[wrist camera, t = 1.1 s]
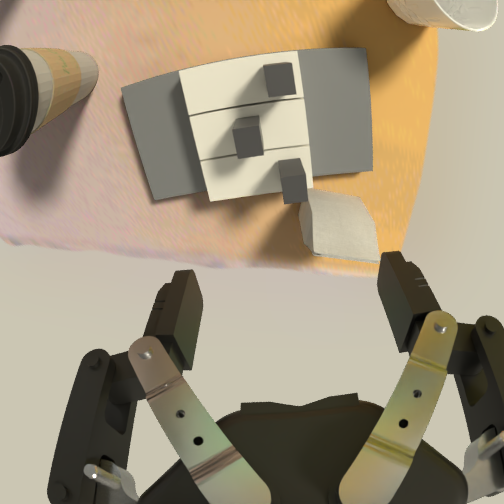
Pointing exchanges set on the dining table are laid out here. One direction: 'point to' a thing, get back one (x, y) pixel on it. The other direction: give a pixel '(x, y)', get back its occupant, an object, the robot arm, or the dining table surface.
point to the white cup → (447, 13)
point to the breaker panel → (322, 112)
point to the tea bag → (338, 227)
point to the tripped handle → (248, 137)
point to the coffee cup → (39, 89)
